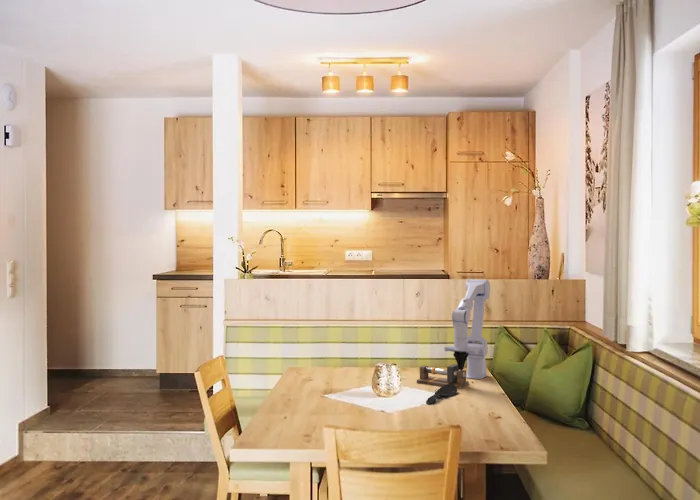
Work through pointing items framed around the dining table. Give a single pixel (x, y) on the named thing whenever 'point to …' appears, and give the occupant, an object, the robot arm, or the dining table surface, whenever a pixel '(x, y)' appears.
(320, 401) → the dining table surface
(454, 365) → the collar
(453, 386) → the hairbrush
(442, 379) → the pipe stand
